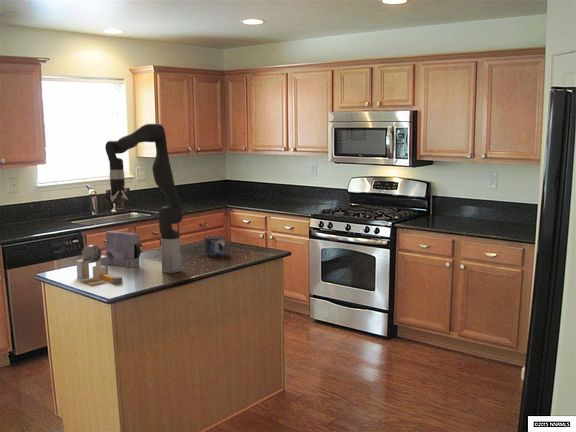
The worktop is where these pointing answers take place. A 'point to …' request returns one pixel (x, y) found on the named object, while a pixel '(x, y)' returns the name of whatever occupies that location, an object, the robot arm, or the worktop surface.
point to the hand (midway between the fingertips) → (118, 207)
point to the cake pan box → (122, 249)
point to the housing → (90, 260)
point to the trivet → (93, 281)
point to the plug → (105, 275)
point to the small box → (215, 246)
